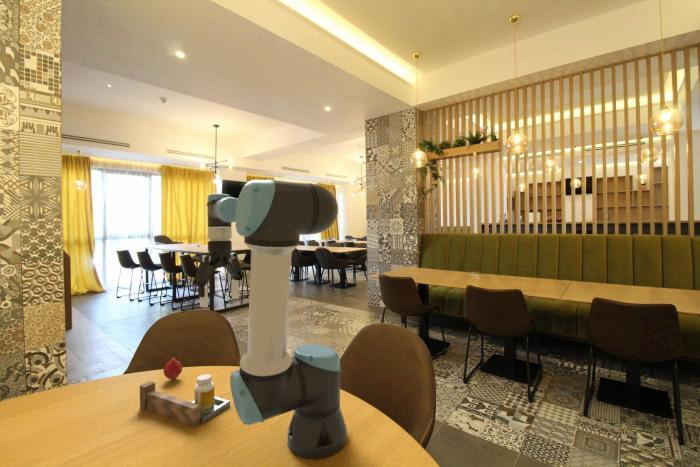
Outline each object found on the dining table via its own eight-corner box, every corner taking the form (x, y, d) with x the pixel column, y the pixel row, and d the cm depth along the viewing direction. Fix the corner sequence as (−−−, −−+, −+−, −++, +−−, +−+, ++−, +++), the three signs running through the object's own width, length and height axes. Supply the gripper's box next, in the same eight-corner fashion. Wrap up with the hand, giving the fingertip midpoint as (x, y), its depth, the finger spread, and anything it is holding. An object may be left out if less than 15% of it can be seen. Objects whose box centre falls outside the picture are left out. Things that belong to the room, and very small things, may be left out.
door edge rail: (201, 421, 91) (201, 396, 91) (192, 428, 88) (191, 402, 88) (150, 403, 101) (150, 381, 100) (140, 408, 98) (139, 385, 98)
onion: (159, 383, 114) (159, 360, 114) (171, 375, 119) (171, 354, 119) (174, 384, 113) (174, 361, 113) (185, 376, 118) (185, 355, 118)
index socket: (230, 405, 99) (229, 400, 99) (202, 423, 90) (202, 418, 90) (206, 398, 104) (206, 393, 104) (177, 415, 94) (177, 409, 94)
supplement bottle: (218, 405, 99) (217, 373, 99) (207, 415, 94) (206, 381, 94) (202, 403, 100) (202, 372, 100) (190, 413, 95) (190, 380, 95)
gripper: (238, 238, 123) (238, 294, 124) (179, 241, 101) (180, 309, 101) (253, 238, 120) (254, 296, 121) (196, 241, 98) (197, 312, 98)
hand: (220, 302), depth 111 cm, fingers open, 13 cm apart
